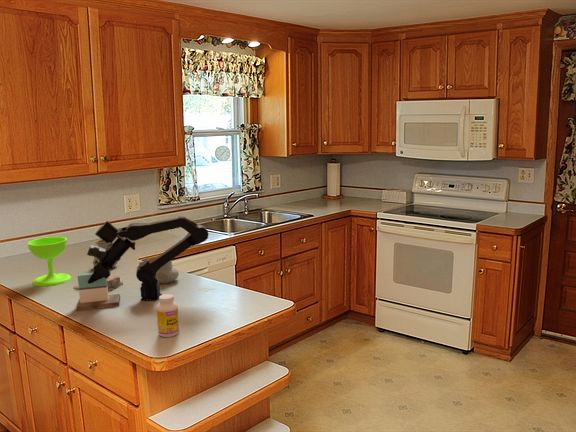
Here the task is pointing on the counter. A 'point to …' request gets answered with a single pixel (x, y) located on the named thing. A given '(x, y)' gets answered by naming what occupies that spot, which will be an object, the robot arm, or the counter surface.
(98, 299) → the beige rectangular block
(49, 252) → the wineglass
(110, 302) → the brown flat block
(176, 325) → the supplement bottle
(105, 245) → the coffee pot
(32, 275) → the counter surface
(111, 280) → the packaged product
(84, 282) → the mint green pillar
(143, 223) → the robot arm
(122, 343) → the counter surface
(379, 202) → the counter surface
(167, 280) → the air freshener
